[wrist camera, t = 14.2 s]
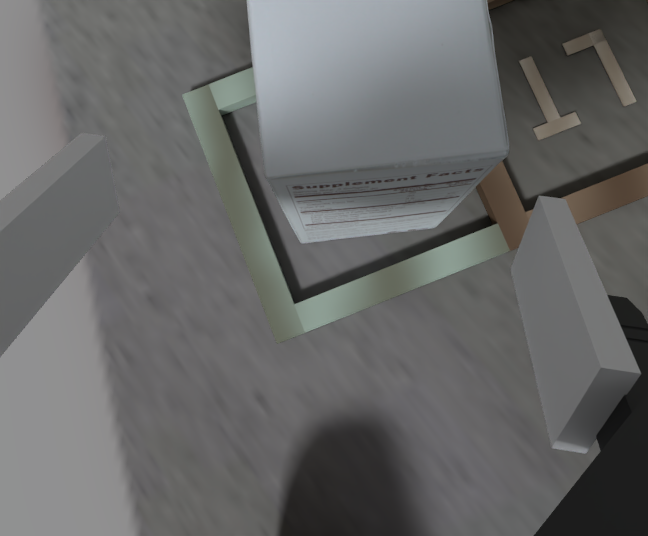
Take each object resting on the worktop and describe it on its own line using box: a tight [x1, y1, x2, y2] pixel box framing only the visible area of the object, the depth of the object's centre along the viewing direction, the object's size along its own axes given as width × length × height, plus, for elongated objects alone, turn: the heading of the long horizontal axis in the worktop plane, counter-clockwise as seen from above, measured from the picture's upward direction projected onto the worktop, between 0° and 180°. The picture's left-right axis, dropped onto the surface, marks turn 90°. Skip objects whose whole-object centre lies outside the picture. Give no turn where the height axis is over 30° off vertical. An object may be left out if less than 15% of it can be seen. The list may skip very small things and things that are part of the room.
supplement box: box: [247, 0, 509, 243], centre depth 22 cm, size 7×7×13 cm
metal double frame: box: [182, 0, 648, 344], centre depth 28 cm, size 26×14×1 cm, turn 112°
